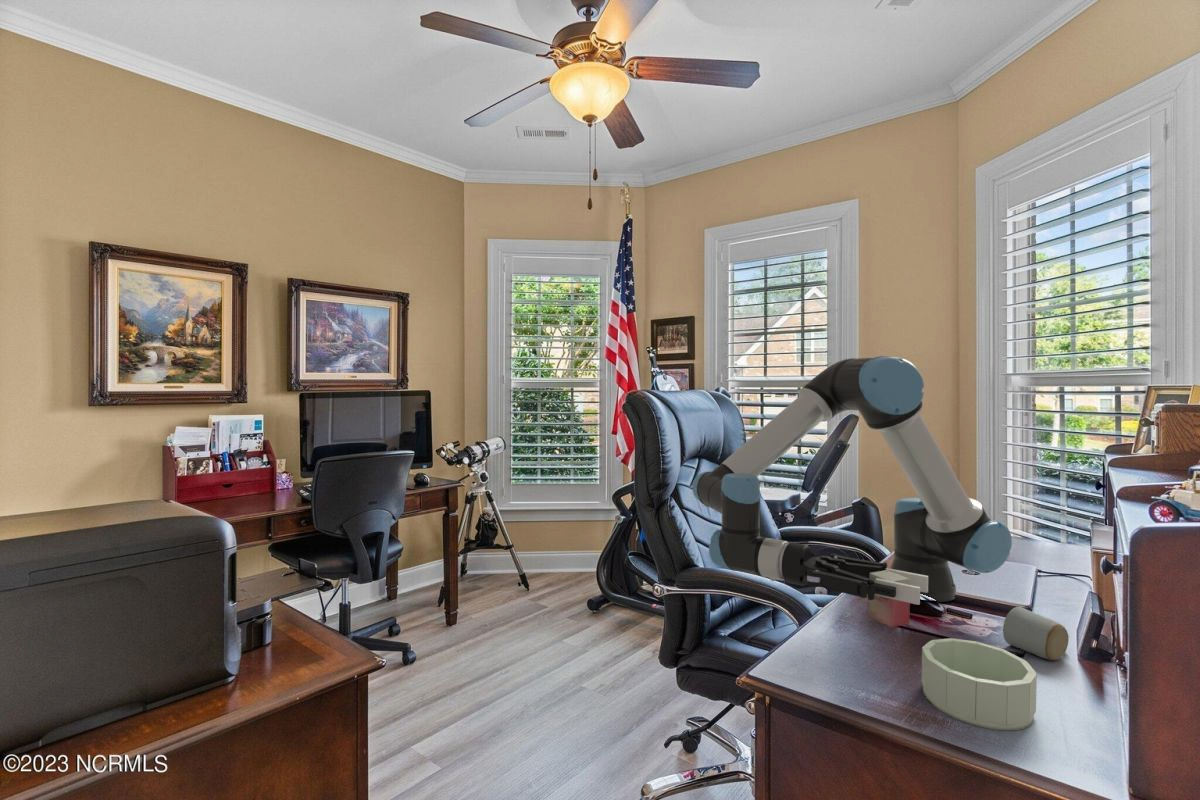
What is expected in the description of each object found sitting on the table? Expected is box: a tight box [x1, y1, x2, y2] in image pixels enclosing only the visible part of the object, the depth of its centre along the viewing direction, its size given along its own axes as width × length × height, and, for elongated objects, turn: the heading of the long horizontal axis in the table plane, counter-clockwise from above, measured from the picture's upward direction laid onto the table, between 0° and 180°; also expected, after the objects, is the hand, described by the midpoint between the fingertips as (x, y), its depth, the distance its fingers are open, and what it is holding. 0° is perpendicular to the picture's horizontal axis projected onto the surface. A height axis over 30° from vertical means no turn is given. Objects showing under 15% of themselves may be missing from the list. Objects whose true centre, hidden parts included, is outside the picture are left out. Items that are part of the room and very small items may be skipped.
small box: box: [868, 570, 911, 628], centre depth 97 cm, size 5×4×8 cm
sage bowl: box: [921, 637, 1038, 732], centre depth 92 cm, size 15×15×7 cm
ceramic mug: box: [1002, 606, 1070, 661], centre depth 109 cm, size 11×8×8 cm
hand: (923, 589), depth 94 cm, fingers closed on small box, 6 cm apart
